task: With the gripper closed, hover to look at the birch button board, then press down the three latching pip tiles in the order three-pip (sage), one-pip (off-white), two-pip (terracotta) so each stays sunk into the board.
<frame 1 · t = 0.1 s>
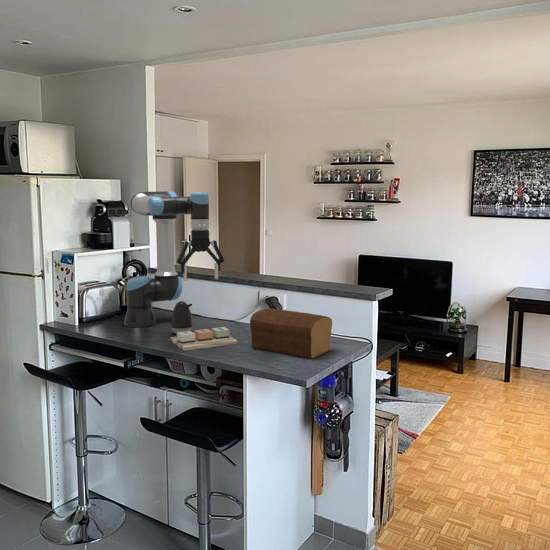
hand: (200, 279, 244), 28 cm above the worktop, fingers open, 13 cm apart
board: (203, 342, 251), on the worktop
tile one: (185, 336, 247), point 4 cm above the worktop, slide at 0.0 cm
tile three: (220, 331, 254), point 4 cm above the worktop, slide at 0.0 cm
pump dispenser: (182, 334, 266), on the worktop
tile two: (203, 333, 250), point 4 cm above the worktop, slide at 0.0 cm
bread: (290, 350, 241), on the worktop
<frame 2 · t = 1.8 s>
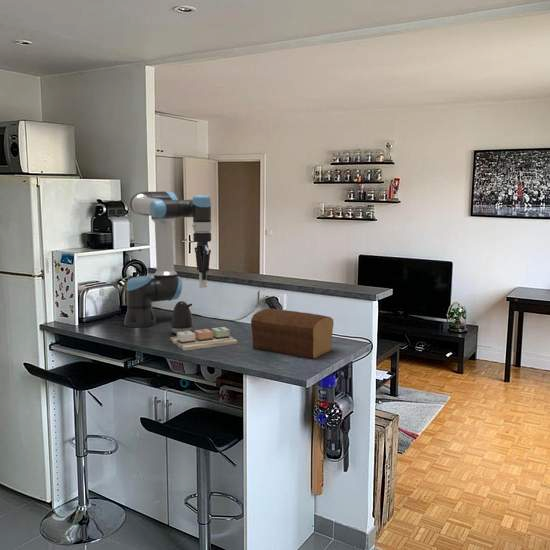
hand: (203, 287, 247), 24 cm above the worktop, fingers closed
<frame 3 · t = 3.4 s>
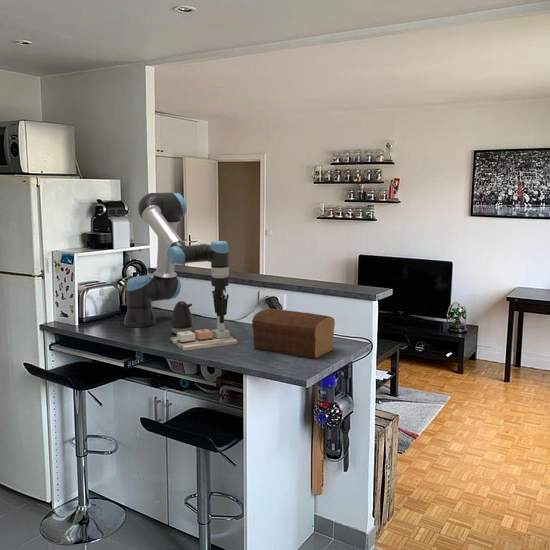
hand: (220, 329, 254), 5 cm above the worktop, fingers closed
tile three: (220, 333, 254), point 3 cm above the worktop, slide at -0.7 cm, touching gripper
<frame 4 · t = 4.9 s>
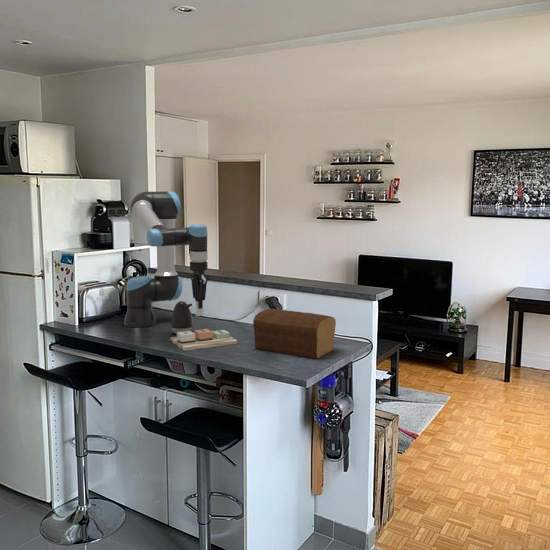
hand: (199, 315, 249), 12 cm above the worktop, fingers closed
tile three: (220, 334, 254), point 2 cm above the worktop, slide at -1.4 cm
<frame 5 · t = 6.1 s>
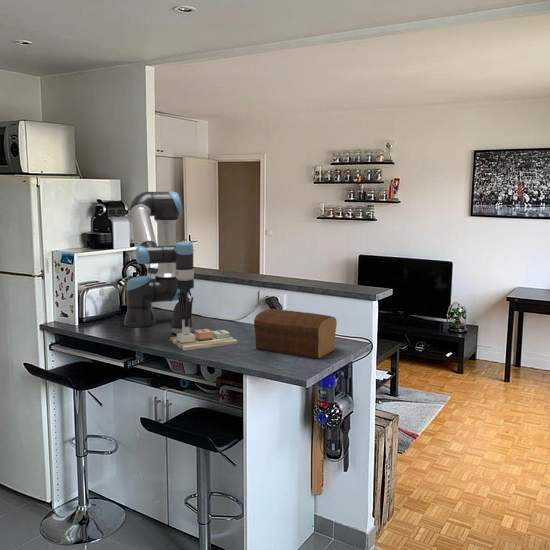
hand: (186, 333, 246), 5 cm above the worktop, fingers closed
tile one: (185, 337, 247), point 3 cm above the worktop, slide at -0.6 cm, touching gripper
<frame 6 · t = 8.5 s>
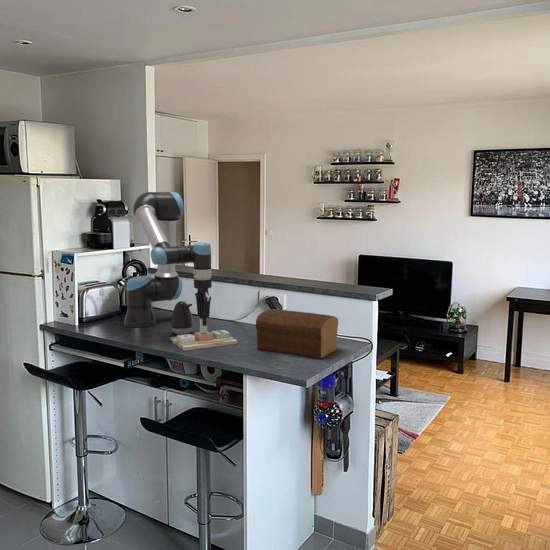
hand: (203, 332, 250), 4 cm above the worktop, fingers closed
tile one: (186, 339, 247), point 2 cm above the worktop, slide at -1.4 cm
tile two: (203, 336, 250), point 3 cm above the worktop, slide at -1.0 cm, touching gripper
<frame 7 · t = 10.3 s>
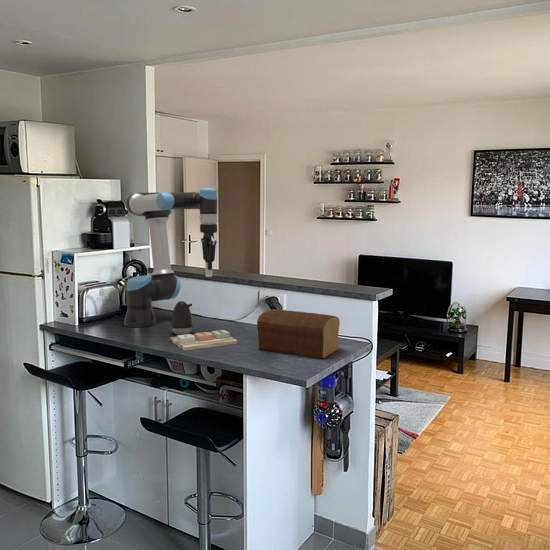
hand: (208, 276, 257), 27 cm above the worktop, fingers closed
tile two: (203, 337, 251), point 2 cm above the worktop, slide at -1.4 cm
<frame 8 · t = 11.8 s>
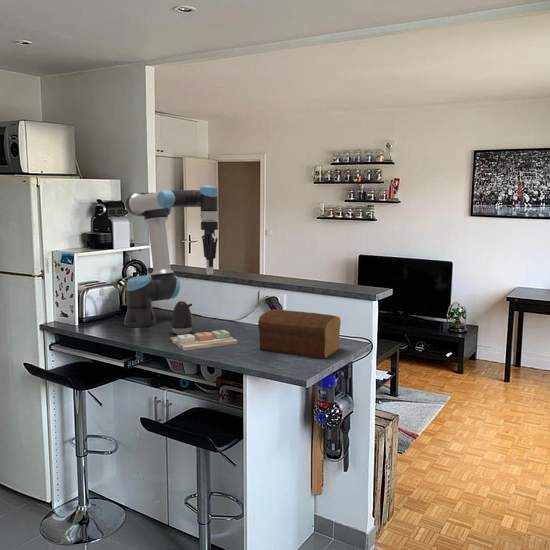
hand: (210, 273, 258), 28 cm above the worktop, fingers closed
at the end: tile three slide at -1.4 cm; tile one slide at -1.4 cm; tile two slide at -1.4 cm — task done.
